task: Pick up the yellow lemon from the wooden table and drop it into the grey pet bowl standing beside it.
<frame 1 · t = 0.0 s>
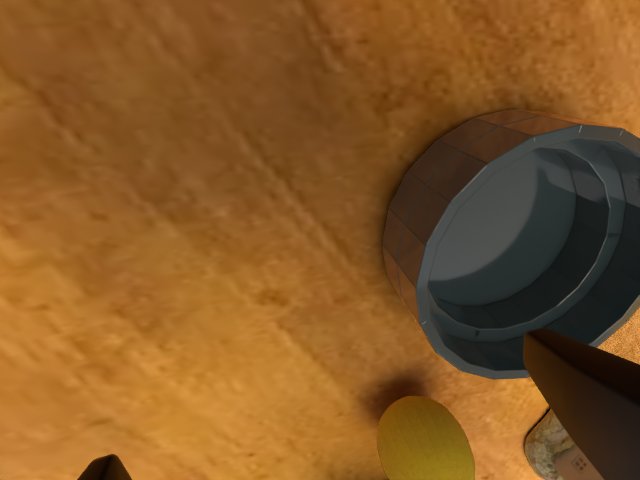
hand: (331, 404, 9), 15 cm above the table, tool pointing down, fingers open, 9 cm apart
ceramic model: (591, 429, 36), on the table
grey pet bowl: (489, 226, 26), on the table
lemon: (399, 399, 30), on the table
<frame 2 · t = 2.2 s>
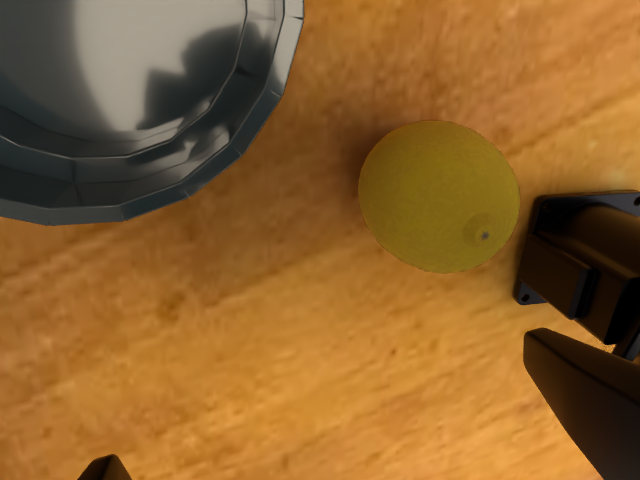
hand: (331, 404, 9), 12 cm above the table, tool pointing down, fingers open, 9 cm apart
lemon: (394, 167, 20), on the table
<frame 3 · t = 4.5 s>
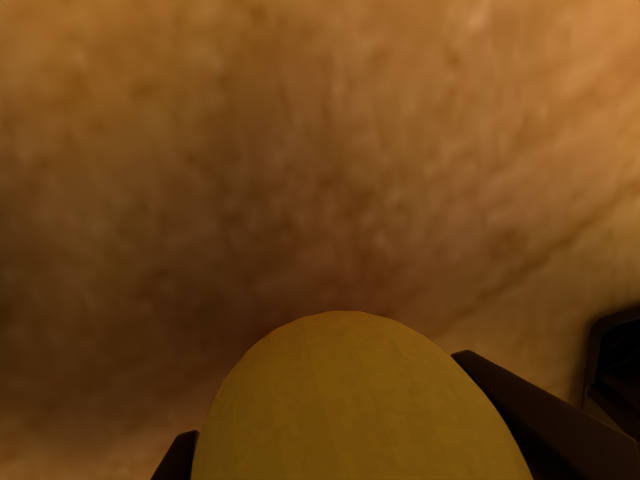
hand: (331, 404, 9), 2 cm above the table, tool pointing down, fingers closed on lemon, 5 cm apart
lemon: (313, 339, 11), on the table, touching gripper
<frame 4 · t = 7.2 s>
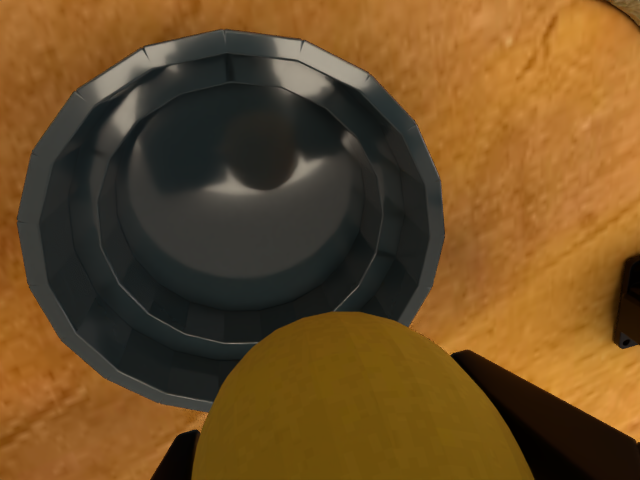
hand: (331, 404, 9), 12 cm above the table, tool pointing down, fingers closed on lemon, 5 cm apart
grey pet bowl: (246, 204, 19), on the table
lemon: (313, 340, 11), point 9 cm above the table, touching gripper
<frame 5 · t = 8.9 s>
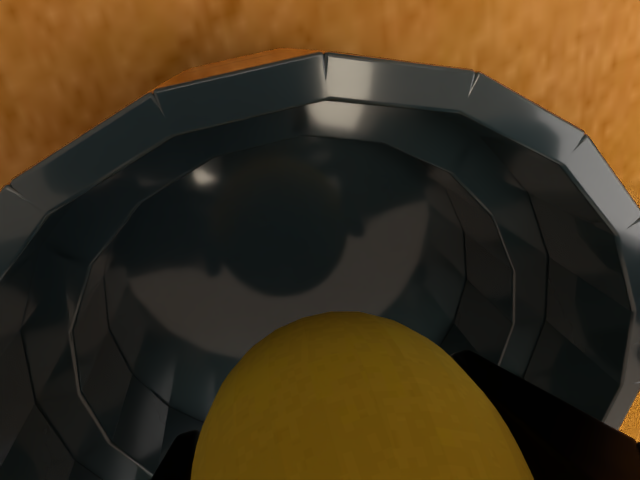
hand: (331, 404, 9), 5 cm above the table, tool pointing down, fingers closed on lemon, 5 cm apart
grey pet bowl: (296, 292, 13), on the table
lemon: (313, 340, 11), point 2 cm above the table, touching gripper
when the fingers open (2 cm above the table, at t = 10.0 s): lemon stays where it is, resting on grey pet bowl.
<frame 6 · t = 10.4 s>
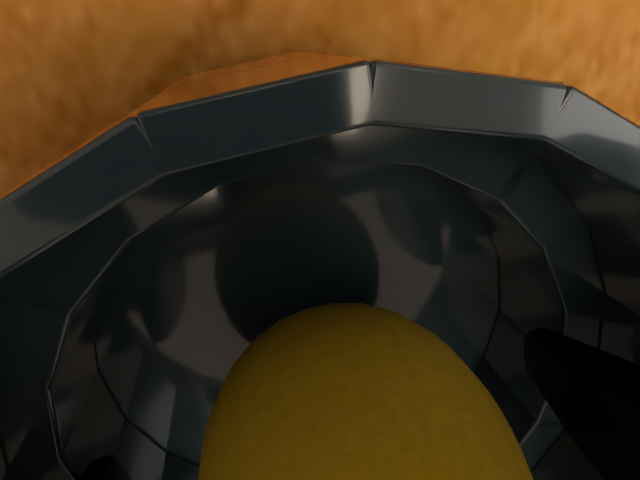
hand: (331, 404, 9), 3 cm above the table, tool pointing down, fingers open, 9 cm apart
grey pet bowl: (309, 325, 12), on the table
lemon: (315, 332, 11), resting on grey pet bowl
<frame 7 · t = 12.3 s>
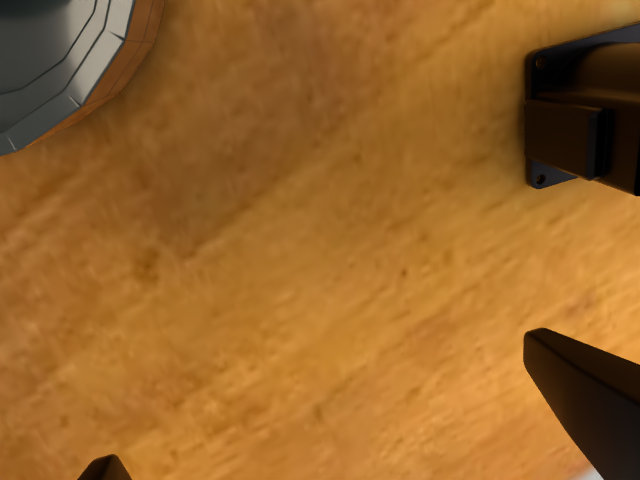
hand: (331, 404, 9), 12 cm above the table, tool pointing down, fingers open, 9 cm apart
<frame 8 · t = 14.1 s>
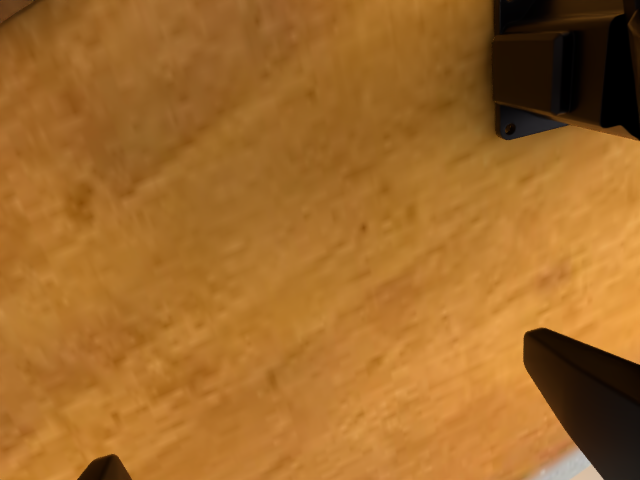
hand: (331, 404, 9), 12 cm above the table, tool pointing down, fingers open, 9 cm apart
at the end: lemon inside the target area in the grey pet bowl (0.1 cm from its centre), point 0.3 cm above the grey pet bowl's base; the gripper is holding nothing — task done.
